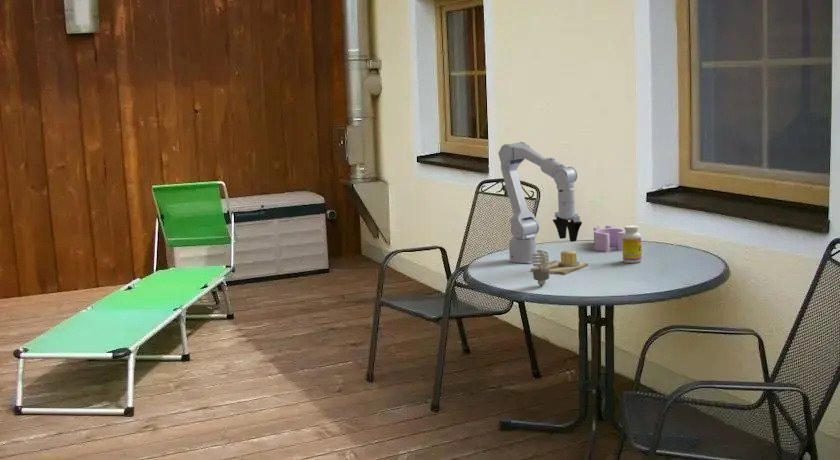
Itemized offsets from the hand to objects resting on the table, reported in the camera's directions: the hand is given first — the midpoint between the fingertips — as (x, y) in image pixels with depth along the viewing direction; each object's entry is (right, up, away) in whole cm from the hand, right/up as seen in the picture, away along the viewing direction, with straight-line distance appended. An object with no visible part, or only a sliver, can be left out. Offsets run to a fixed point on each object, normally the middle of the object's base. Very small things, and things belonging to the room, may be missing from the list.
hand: (567, 239), depth 342 cm
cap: (+1, -8, +1) cm, 8 cm away
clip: (+21, -3, +35) cm, 41 cm away
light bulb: (-12, -15, -25) cm, 32 cm away
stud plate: (-3, -10, +1) cm, 11 cm away
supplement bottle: (+24, -8, +4) cm, 25 cm away
